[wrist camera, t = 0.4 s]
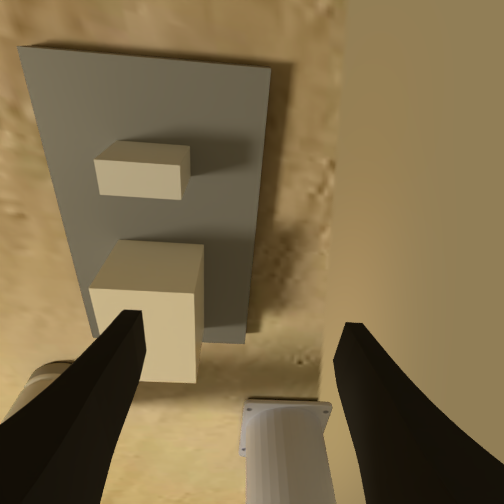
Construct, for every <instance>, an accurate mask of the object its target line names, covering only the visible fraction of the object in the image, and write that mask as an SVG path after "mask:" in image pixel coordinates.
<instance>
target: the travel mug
mask: <svg viewBox="0 0 504 504" xmlns="http://www.w3.org/2000/svg"><path fill="white" fill-rule="evenodd" d="M70 365H71V364H70V363H52V364H47V365H44V366H42V367H40V368H38V369H37V370H35V371H34V372H33V374H32V375H31V377H30V378H29V380H28V381H27V383H26V385H25V386H24V389H23V390H22V391H21V393H20V394H19V396H18V397H17V399H16V401H15V402H14V404H13V405H12V407H11V408H10V410H9V412H8V413H7V415H6V416H5V418H4V420H3V421H2V423H3V422H4V421H6V420H7V419H8V418H9V417H11V416H12V415H13V414H15V413H16V412H17V411H19V410H20V409H21V408H22V407H24V406H25V405H26V404H27V403H29V402H30V401H31V400H32V399H33V398H35V397H36V396H37V395H38V394H39V393H41V392H42V391H43V390H44V389H45V388H46V387H48V386H49V385H50V384H51V383H52V382H53V381H54V380H55V379H56V378H58V377H59V376H60V375H61V374H62V373H63V372H64V371H65V370H66V369H67V368H68V367H69V366H70ZM2 423H1V424H2Z"/></svg>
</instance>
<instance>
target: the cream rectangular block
mask: <svg viewBox="0 0 504 504" xmlns="http://www.w3.org/2000/svg"><path fill="white" fill-rule="evenodd" d="M89 292H90V297H91V301H92V305H93V309H94V313H95V317H96V321H97V325H98V329H99V333H100V335H101V334H102V333H103V331H104V330H105V329H106V328H107V327H108V326H109V325H110V324H111V323H112V321H113V320H114V319H115V318H116V317H117V316H118V315H119V313H120V312H121V311H123V310H124V309H127V310H142V315H143V324H144V332H145V341H146V349H147V351H146V356H145V360H144V364H143V369H142V373H141V377H140V380H139V381H147V382H175V383H196V380H197V373H198V366H199V359H200V352H201V345H202V338H203V332H204V245H203V244H186V243H169V242H152V241H135V240H118V242H117V243H116V245H115V246H114V248H113V250H112V251H111V253H110V254H109V256H108V258H107V259H106V261H105V263H104V264H103V266H102V267H101V269H100V271H99V272H98V274H97V275H96V277H95V279H94V280H93V282H92V283H91V285H90V287H89Z"/></svg>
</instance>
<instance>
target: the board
mask: <svg viewBox="0 0 504 504" xmlns="http://www.w3.org/2000/svg"><path fill="white" fill-rule="evenodd" d="M17 49H18V53H19V57H20V61H21V64H22V68H23V72H24V76H25V80H26V84H27V87H28V91H29V95H30V99H31V103H32V106H33V110H34V114H35V118H36V122H37V126H38V129H39V133H40V137H41V141H42V145H43V149H44V152H45V156H46V160H47V164H48V168H49V171H50V175H51V179H52V183H53V187H54V191H55V194H56V198H57V202H58V206H59V210H60V214H61V217H62V221H63V225H64V229H65V233H66V236H67V240H68V244H69V248H70V252H71V256H72V259H73V263H74V267H75V271H76V275H77V278H78V282H79V286H80V290H81V294H82V298H83V301H84V305H85V309H86V313H87V317H88V321H89V324H90V328H91V332H92V336H93V338H98V337H99V336H100V333H99V329H98V325H97V321H96V317H95V313H94V309H93V305H92V301H91V297H90V292H89V287H90V285H91V283H92V282H93V280H94V279H95V277H96V275H97V274H98V272H99V271H100V269H101V267H102V266H103V264H104V263H105V261H106V259H107V258H108V256H109V254H110V253H111V251H112V250H113V248H114V246H115V245H116V243H117V242H118V240H135V241H152V242H169V243H186V244H203V245H204V332H203V338H202V342H207V343H231V344H245V336H246V325H247V315H248V305H249V294H250V284H251V273H252V263H253V253H254V242H255V232H256V222H257V211H258V201H259V190H260V180H261V170H262V159H263V149H264V138H265V128H266V118H267V107H268V97H269V87H270V76H271V68H270V67H267V66H256V65H244V64H233V63H222V62H210V61H199V60H188V59H176V58H165V57H154V56H142V55H131V54H120V53H108V52H97V51H86V50H74V49H63V48H52V47H40V46H17Z"/></svg>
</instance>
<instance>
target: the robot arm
mask: <svg viewBox="0 0 504 504" xmlns="http://www.w3.org/2000/svg"><path fill="white" fill-rule="evenodd" d="M146 351H147V349H146V341H145V332H144V324H143V315H142V310H127V309H124V310H123V311H121V312H120V313H119V315H118V316H117V317H116V318H115V319H114V320H113V321H112V323H111V324H110V325H109V326H108V327H107V328H106V329H105V330H104V331H103V333H102V334H101V335H100V336H99V337H98V338H97V339H96V340H95V341H94V342H93V343H92V344H91V345H90V346H89V347H88V348H87V349H86V350H85V351H84V352H83V354H82V355H81V356H80V357H79V358H78V359H77V360H76V361H75V362H73V363H72V364H71V365H70V366H69V367H68V368H67V369H66V370H65V371H64V372H63V373H62V374H61V375H60V376H59V377H58V378H56V379H55V380H54V381H53V382H52V383H51V384H50V385H49V386H48V387H46V388H45V389H44V390H43V391H42V392H41V393H39V394H38V395H37V396H36V397H35V398H33V399H32V400H31V401H30V402H29V403H27V404H26V405H25V406H24V407H22V408H21V409H20V410H19V411H17V412H16V413H15V414H13V415H12V416H11V417H9V418H8V419H7V420H6V421H4V422H3V423H2V424H0V504H100V501H101V497H102V493H103V489H104V486H105V482H106V478H107V474H108V471H109V467H110V463H111V459H112V456H113V453H114V450H115V447H116V444H117V441H118V438H119V435H120V433H121V430H122V427H123V424H124V422H125V419H126V416H127V413H128V411H129V408H130V405H131V403H132V400H133V397H134V394H135V391H136V389H137V386H138V383H139V380H140V377H141V373H142V369H143V364H144V360H145V356H146ZM333 363H334V370H335V377H336V383H337V388H338V392H339V396H340V399H341V403H342V406H343V410H344V413H345V417H346V420H347V424H348V427H349V431H350V434H351V438H352V441H353V444H354V448H355V451H356V455H357V459H358V463H359V468H360V473H361V478H362V483H363V489H364V494H365V499H366V504H504V464H503V463H501V462H500V461H499V460H497V459H496V458H495V457H494V456H492V455H491V454H490V453H489V452H487V451H486V450H485V449H484V448H483V447H481V446H480V445H479V444H478V443H477V442H475V441H474V440H473V439H472V438H471V437H469V436H468V435H467V434H466V433H465V432H464V431H462V430H461V429H460V428H459V427H458V426H457V425H456V424H455V423H454V422H452V421H451V420H450V419H449V418H448V417H447V416H446V415H445V414H444V413H443V412H442V411H441V410H439V409H438V408H437V407H436V406H435V405H434V404H433V403H432V402H431V401H430V400H429V399H428V398H427V397H426V396H425V394H424V393H423V392H422V391H421V390H420V389H419V388H418V387H417V386H416V385H415V384H414V383H413V382H412V381H411V380H410V379H409V378H408V377H407V376H406V374H405V373H404V372H403V371H402V370H401V369H400V368H399V366H398V365H397V364H396V363H395V362H394V361H393V359H392V358H391V357H390V356H389V355H388V354H387V352H386V351H385V350H384V349H383V347H382V346H381V345H380V344H379V343H378V342H377V340H376V339H375V338H374V337H373V335H372V334H371V333H370V332H369V331H368V329H367V328H366V327H365V326H364V324H363V323H351V322H346V323H345V326H344V329H343V332H342V335H341V338H340V341H339V344H338V347H337V350H336V353H335V356H334V359H333ZM331 410H332V404H331V403H329V402H317V401H287V400H258V399H248V400H246V401H245V402H244V408H243V417H242V426H241V435H240V444H239V455H240V456H242V457H246V504H336V500H335V494H334V489H333V484H332V479H331V474H330V469H329V463H328V458H327V453H326V447H325V442H324V437H323V433H324V430H325V427H326V424H327V421H328V419H329V416H330V413H331Z"/></svg>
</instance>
